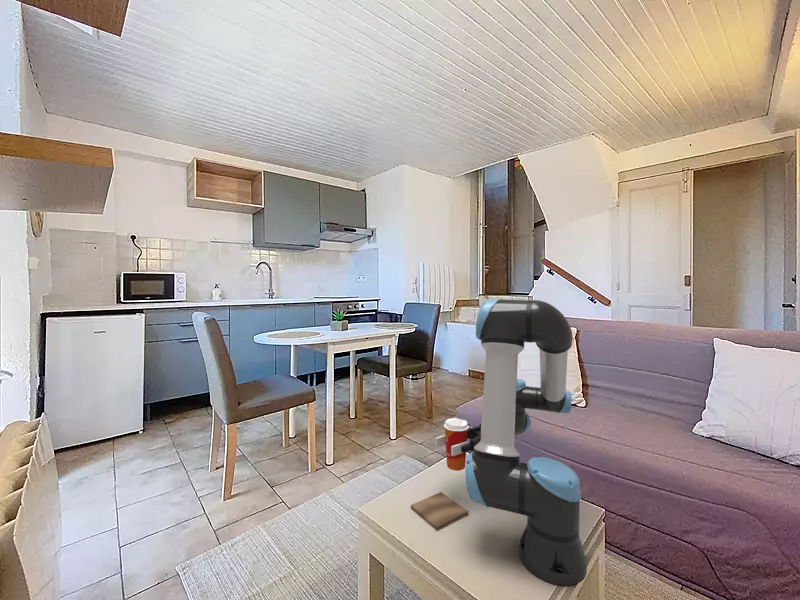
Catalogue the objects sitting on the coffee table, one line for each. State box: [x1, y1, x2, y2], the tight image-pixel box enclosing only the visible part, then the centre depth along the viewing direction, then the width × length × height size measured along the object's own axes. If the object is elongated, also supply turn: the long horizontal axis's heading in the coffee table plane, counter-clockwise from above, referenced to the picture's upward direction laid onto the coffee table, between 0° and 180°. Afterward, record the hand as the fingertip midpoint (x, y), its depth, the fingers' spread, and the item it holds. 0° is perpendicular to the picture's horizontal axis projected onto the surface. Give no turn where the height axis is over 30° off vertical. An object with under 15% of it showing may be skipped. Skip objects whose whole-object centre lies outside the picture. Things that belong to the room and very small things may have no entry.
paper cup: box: [443, 417, 469, 472], centre depth 112 cm, size 8×8×14 cm
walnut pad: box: [410, 491, 469, 531], centre depth 106 cm, size 12×12×1 cm
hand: (443, 446), depth 109 cm, fingers closed on paper cup, 6 cm apart
